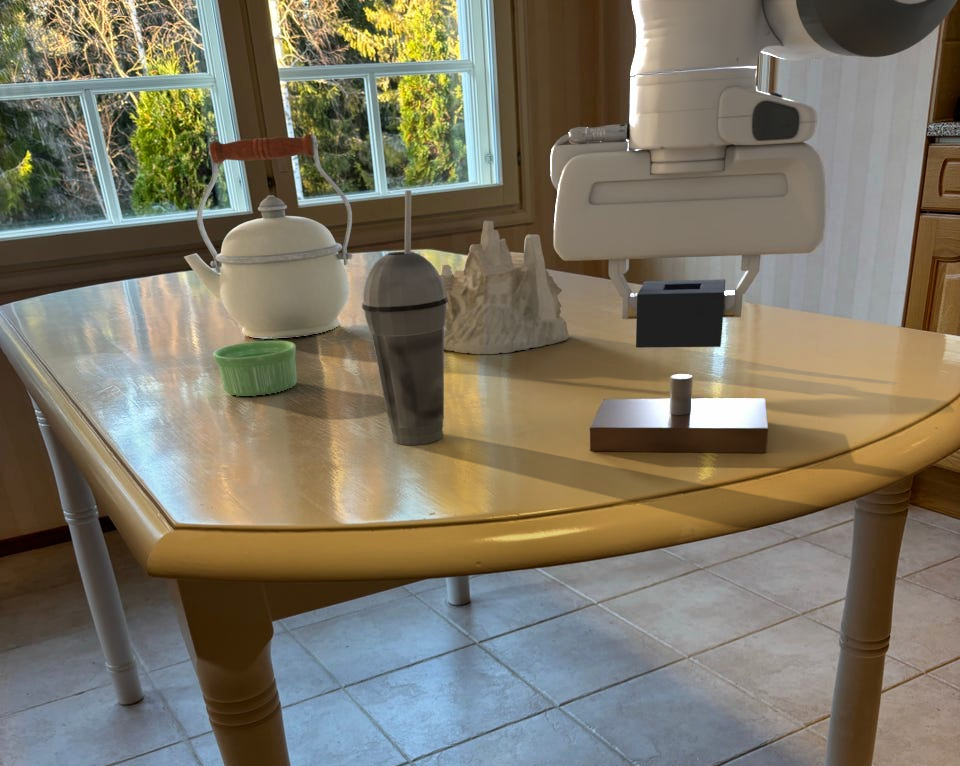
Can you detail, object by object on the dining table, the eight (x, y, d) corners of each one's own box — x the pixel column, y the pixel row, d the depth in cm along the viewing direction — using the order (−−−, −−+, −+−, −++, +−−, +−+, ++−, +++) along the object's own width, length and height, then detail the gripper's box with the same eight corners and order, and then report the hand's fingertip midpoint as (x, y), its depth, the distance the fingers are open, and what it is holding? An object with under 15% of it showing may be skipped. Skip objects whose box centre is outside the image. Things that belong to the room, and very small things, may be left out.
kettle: (377, 315, 142) (356, 130, 130) (350, 339, 127) (323, 132, 115) (221, 323, 146) (187, 144, 134) (176, 347, 130) (132, 146, 118)
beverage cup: (368, 433, 85) (338, 194, 76) (443, 421, 87) (423, 186, 78) (390, 454, 79) (360, 197, 70) (469, 441, 81) (451, 188, 72)
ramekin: (315, 379, 106) (310, 340, 104) (275, 400, 99) (268, 358, 97) (249, 378, 109) (242, 339, 107) (204, 398, 102) (196, 357, 100)
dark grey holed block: (722, 330, 77) (725, 279, 75) (720, 347, 72) (724, 292, 70) (643, 331, 79) (644, 281, 77) (635, 347, 73) (637, 294, 71)
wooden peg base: (763, 421, 81) (768, 362, 78) (766, 453, 73) (771, 389, 71) (603, 420, 84) (603, 364, 82) (589, 451, 77) (589, 390, 74)
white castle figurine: (584, 338, 116) (574, 206, 109) (466, 364, 110) (448, 227, 104) (527, 329, 129) (514, 211, 122) (418, 351, 123) (399, 229, 117)
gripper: (542, 129, 67) (546, 326, 74) (840, 110, 62) (816, 322, 69) (556, 128, 73) (559, 312, 79) (833, 110, 68) (811, 307, 74)
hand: (681, 317), depth 74 cm, fingers closed on dark grey holed block, 6 cm apart
